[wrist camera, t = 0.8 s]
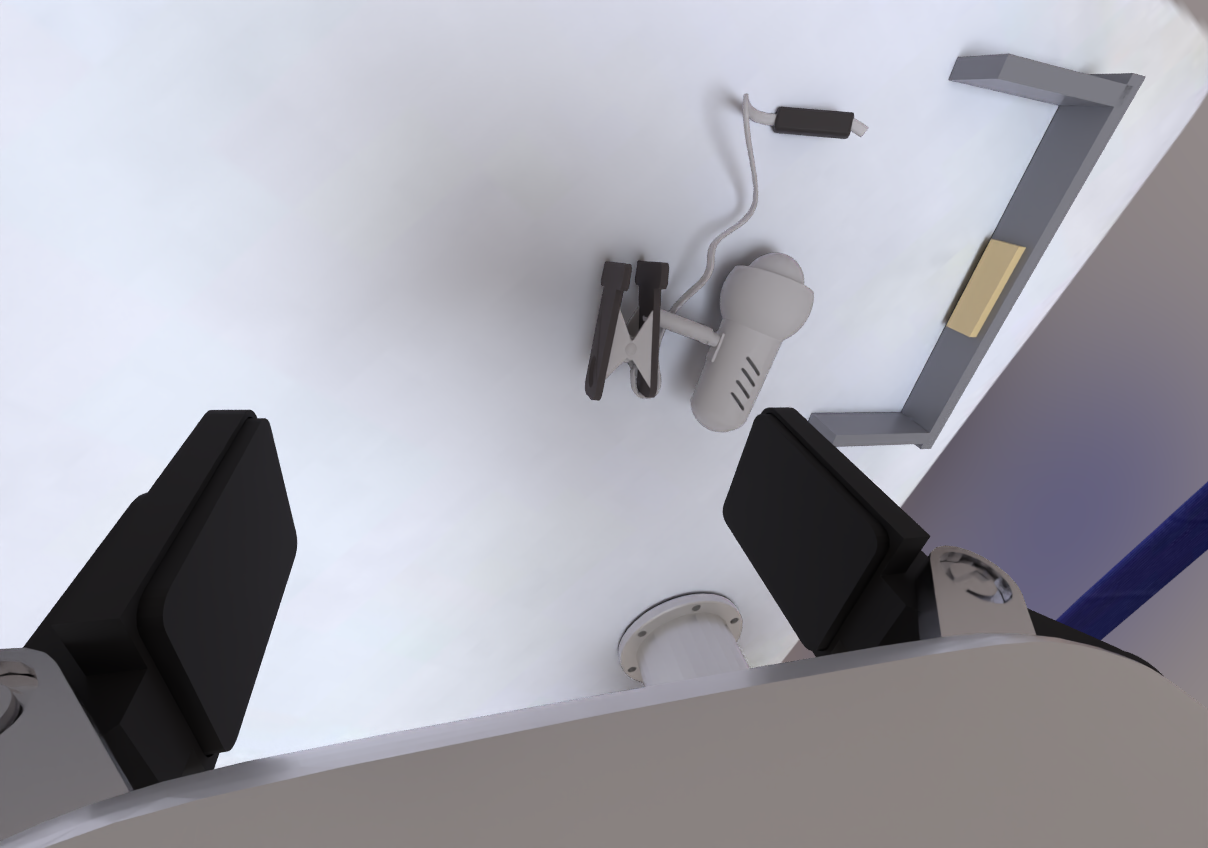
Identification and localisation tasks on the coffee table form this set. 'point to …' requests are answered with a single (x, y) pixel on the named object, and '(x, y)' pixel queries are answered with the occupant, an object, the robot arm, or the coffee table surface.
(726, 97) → the coffee table surface
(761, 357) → the clip-on lamp
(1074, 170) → the grey u-shaped handle
